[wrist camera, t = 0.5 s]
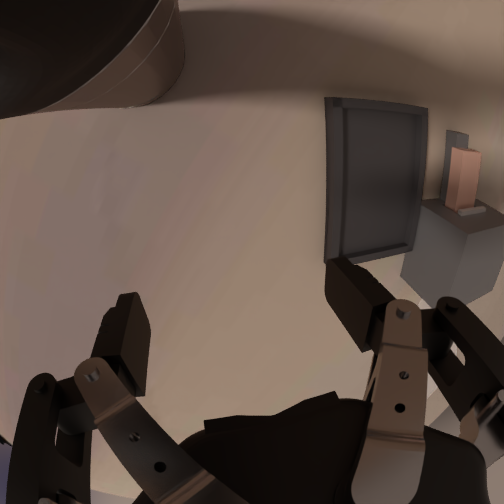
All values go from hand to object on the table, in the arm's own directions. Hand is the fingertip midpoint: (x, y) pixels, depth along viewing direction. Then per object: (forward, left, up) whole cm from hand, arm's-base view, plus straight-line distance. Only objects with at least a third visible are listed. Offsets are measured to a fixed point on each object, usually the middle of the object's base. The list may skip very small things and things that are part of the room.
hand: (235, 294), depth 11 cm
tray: (+2, +19, -17) cm, 25 cm away
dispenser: (+6, +33, -17) cm, 37 cm away
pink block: (+4, +33, -15) cm, 36 cm away
